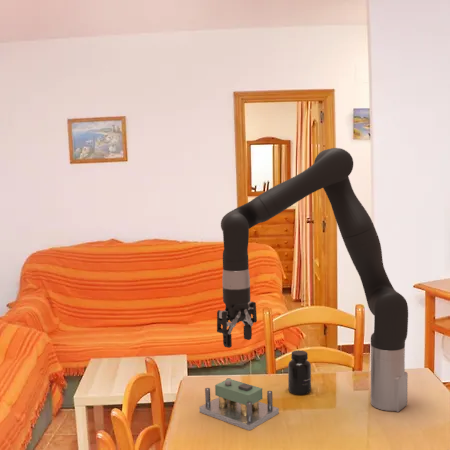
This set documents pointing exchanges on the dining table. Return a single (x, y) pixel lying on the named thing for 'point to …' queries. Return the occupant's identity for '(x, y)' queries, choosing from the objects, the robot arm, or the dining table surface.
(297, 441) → the dining table surface
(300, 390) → the supplement bottle
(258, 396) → the board
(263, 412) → the chassis
